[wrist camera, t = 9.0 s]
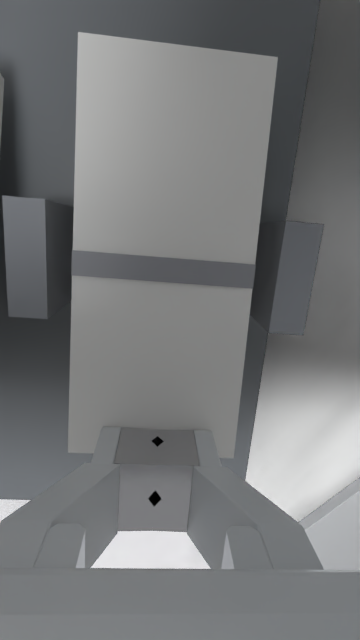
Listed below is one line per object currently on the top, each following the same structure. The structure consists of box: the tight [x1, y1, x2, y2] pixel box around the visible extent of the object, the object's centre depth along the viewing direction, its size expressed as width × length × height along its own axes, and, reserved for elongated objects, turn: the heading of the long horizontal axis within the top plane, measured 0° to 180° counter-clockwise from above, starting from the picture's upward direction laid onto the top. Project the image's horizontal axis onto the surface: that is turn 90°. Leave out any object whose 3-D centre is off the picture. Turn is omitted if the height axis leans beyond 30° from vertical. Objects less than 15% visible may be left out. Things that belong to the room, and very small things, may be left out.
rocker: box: [68, 32, 278, 458], centre depth 9 cm, size 10×4×2 cm, turn 175°
